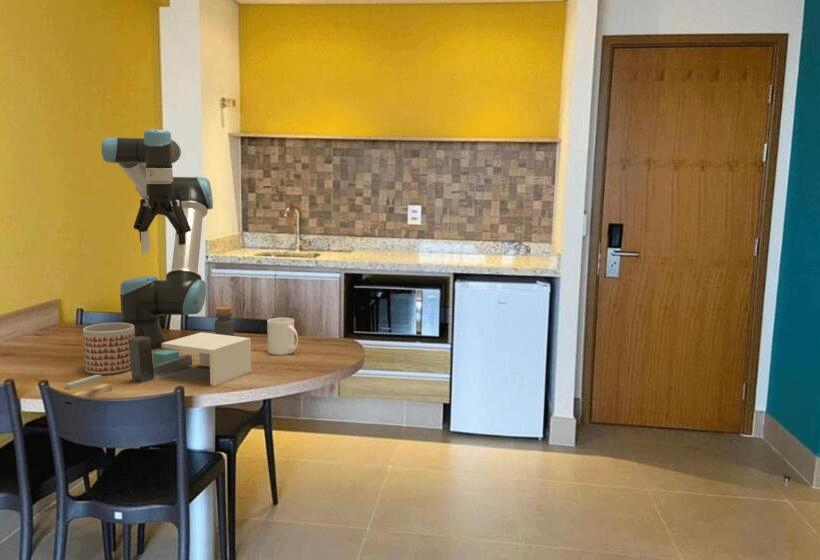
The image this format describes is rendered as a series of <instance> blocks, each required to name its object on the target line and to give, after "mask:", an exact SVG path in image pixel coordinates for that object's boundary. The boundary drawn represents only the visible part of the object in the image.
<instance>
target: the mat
mask: <svg viewBox="0 0 820 560" xmlns="http://www.w3.org/2000/svg"><path fill="white" fill-rule="evenodd" d="M161 377H163V378H164V377H166V378H172V379H177V380H185V381H191V382H195V381H197V380H200V379H203V378H206V377H210V369H208V368H207V369H206V368H201V367H193V366H189V367H186V368H183V369H180V370H177V371H174V372H171V373H168V374H165V375H162V376H161Z"/></svg>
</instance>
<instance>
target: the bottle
mask: <svg viewBox="0 0 820 560" xmlns="http://www.w3.org/2000/svg"><path fill="white" fill-rule="evenodd" d="M215 309H216V313H215V317H216V318H217V320H215V321H214V334H220V335H228V336H235V332H234V331H235V329H234V320H233V319H232V318H231V317H232V316H233V312H231V311H232V306H218V307H216V308H215Z"/></svg>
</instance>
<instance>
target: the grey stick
mask: <svg viewBox="0 0 820 560" xmlns="http://www.w3.org/2000/svg"><path fill="white" fill-rule="evenodd" d="M102 380H103V375H91V376H87V377H84V378H80V379H76V380H74V381H70V382H67V383H65V384H64V388H65V389H67V390H72V389H76V388H79V387H82V386H85V385H89V384H92V383H96V382H99V381H102Z"/></svg>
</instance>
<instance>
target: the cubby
mask: <svg viewBox="0 0 820 560" xmlns="http://www.w3.org/2000/svg"><path fill="white" fill-rule="evenodd" d="M251 339H252V338H250V337H243V336H235V335H234V336H228V335H220V334H215V333H210V332H201V331H200V332H198V333H194V334H191V335H187V336H182V337H178V338H176V339H172V340H168V341H165V342H164V343H162V346H161V348H163V349H169V350H177V351H185V352H192V353H198V354H199V366H203V367H209V370H210V375H209V377H210V378H209V379H210V381H209V383H210V386H213V387H215V386H218V385H219V384H223V383H225V382H227V381H231V380H232V379H233V380H234V379H235V378H238V377H240V376H243V375H246V374H248V373H251V372H252V345H251Z"/></svg>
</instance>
